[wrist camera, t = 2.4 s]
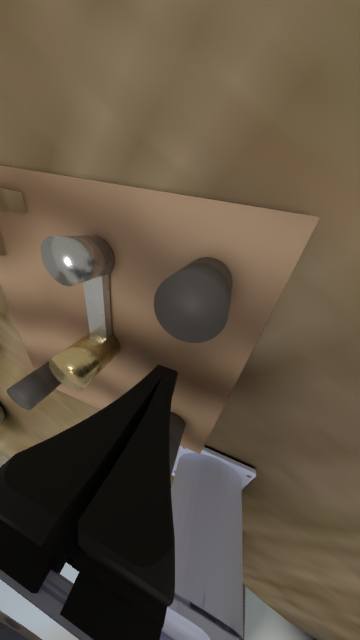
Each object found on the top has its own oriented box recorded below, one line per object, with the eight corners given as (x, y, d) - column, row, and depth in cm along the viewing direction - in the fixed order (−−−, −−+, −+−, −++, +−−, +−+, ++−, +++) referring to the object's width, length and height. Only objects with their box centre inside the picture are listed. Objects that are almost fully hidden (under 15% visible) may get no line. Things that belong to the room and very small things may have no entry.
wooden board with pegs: (202, 438, 18) (191, 503, 13) (51, 372, 21) (4, 407, 17) (306, 219, 7) (393, 203, 3) (-18, 165, 11) (-175, 125, 7)
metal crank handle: (76, 231, 9) (4, 230, 6) (116, 240, 9) (58, 244, 6) (92, 350, 14) (54, 381, 11) (119, 360, 13) (87, 395, 11)
